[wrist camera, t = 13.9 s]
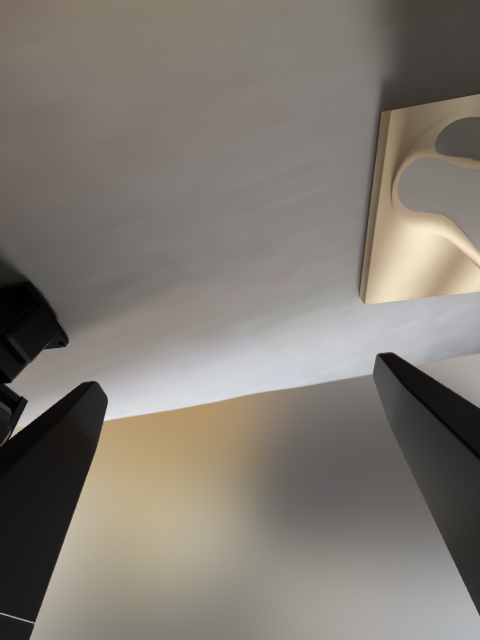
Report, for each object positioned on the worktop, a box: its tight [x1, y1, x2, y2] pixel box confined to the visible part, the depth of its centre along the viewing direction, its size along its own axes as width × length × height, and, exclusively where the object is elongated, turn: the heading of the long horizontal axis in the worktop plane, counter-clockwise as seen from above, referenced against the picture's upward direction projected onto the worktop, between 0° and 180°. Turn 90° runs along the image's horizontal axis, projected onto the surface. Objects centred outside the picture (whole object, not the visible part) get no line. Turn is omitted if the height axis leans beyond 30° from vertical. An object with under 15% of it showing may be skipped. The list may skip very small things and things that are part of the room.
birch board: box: [359, 94, 480, 305], centre depth 17 cm, size 12×12×1 cm
